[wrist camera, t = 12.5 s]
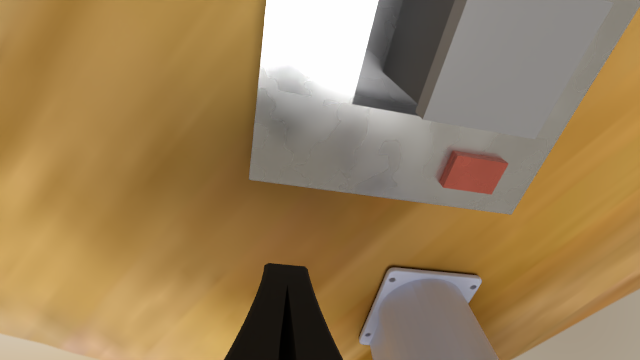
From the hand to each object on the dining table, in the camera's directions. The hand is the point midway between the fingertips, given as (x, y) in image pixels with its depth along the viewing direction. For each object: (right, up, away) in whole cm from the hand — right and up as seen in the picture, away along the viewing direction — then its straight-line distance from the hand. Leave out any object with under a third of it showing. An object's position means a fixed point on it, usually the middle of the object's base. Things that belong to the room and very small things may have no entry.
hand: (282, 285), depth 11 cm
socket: (+6, +10, +6) cm, 13 cm away
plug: (+7, +11, +5) cm, 14 cm away
